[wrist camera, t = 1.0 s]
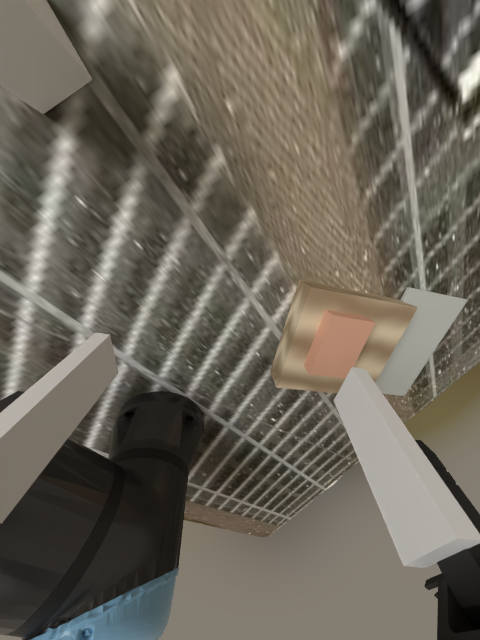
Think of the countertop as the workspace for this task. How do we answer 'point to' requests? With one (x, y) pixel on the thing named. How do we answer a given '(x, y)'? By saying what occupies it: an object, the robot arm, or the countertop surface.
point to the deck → (306, 321)
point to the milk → (37, 55)
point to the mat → (418, 338)
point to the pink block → (337, 344)
